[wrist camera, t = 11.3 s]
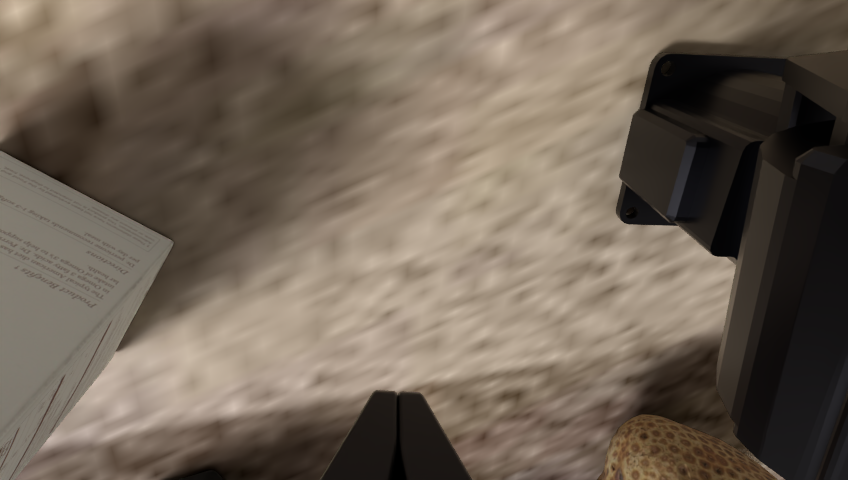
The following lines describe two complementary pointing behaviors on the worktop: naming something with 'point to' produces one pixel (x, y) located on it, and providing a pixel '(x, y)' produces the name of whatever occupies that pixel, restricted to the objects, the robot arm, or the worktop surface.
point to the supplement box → (60, 300)
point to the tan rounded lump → (674, 454)
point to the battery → (204, 476)
